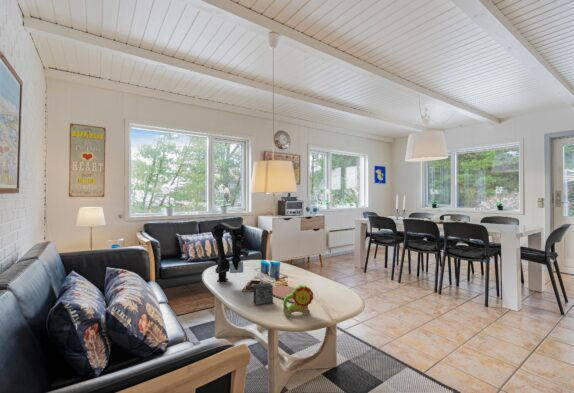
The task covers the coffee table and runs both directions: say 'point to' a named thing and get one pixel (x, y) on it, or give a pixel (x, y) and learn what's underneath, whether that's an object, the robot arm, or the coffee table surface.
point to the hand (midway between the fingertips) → (236, 269)
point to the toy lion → (298, 301)
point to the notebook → (283, 292)
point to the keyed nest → (250, 284)
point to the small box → (262, 294)
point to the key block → (239, 270)
